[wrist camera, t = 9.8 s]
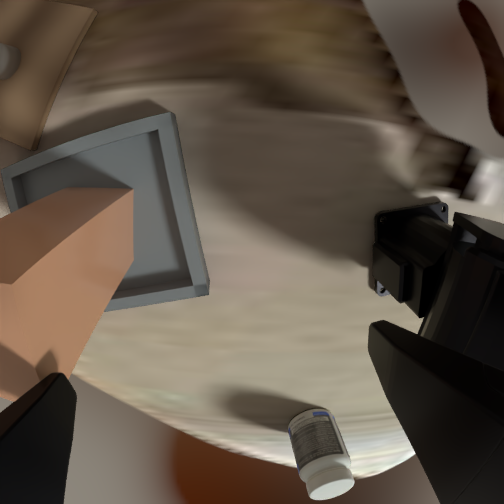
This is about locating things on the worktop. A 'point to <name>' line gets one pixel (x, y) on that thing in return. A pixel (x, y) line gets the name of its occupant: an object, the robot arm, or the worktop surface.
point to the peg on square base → (35, 62)
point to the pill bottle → (320, 454)
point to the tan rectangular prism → (58, 279)
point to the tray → (144, 202)
